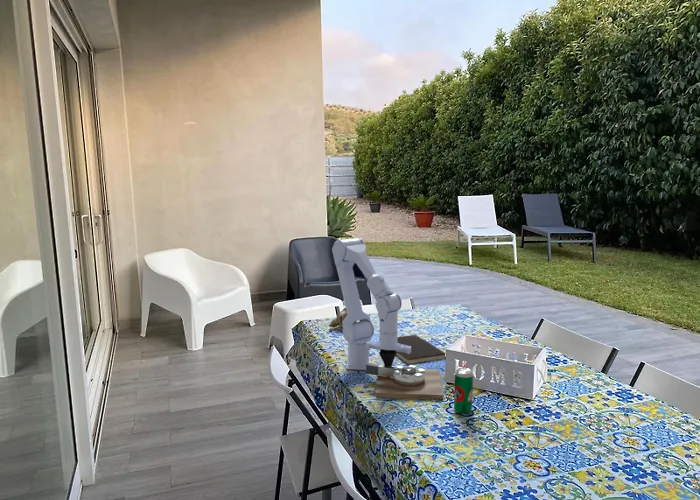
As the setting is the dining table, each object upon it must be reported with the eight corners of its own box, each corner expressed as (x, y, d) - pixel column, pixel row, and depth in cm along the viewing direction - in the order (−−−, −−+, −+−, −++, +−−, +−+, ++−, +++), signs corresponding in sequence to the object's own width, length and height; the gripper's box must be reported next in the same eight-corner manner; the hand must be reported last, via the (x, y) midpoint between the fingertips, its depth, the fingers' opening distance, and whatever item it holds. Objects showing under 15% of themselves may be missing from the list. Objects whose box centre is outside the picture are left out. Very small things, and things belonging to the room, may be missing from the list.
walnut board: (378, 372, 188) (378, 367, 188) (438, 373, 186) (438, 369, 186) (375, 397, 168) (375, 392, 168) (443, 399, 167) (443, 394, 166)
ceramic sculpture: (363, 303, 241) (350, 314, 227) (364, 322, 243) (351, 335, 229) (340, 301, 245) (326, 312, 231) (341, 320, 247) (327, 332, 233)
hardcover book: (407, 365, 195) (407, 359, 195) (379, 345, 216) (379, 339, 216) (447, 359, 201) (447, 353, 201) (416, 340, 222) (416, 334, 222)
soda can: (472, 415, 157) (473, 375, 155) (453, 414, 158) (454, 373, 156) (471, 407, 161) (473, 368, 159) (453, 406, 162) (455, 366, 160)
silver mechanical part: (428, 376, 180) (428, 365, 179) (420, 388, 171) (420, 377, 170) (371, 368, 187) (371, 358, 186) (361, 379, 177) (361, 369, 177)
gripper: (413, 330, 181) (413, 370, 183) (371, 325, 186) (371, 364, 188) (407, 336, 174) (407, 378, 176) (363, 331, 179) (364, 372, 182)
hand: (388, 371), depth 182 cm, fingers closed, pressing on silver mechanical part
